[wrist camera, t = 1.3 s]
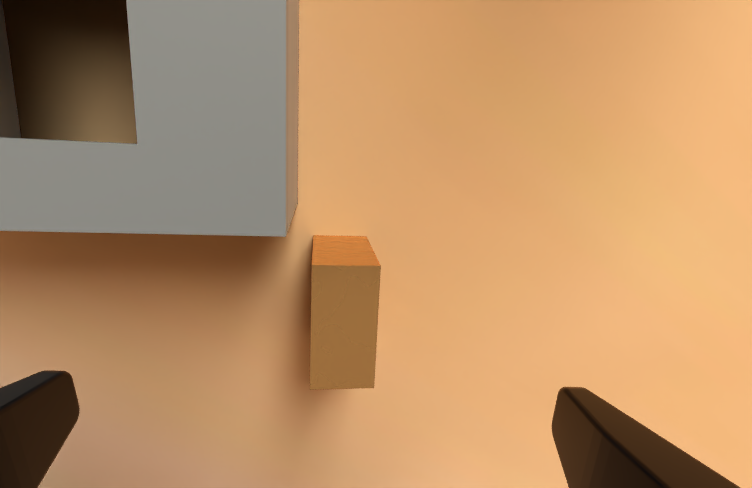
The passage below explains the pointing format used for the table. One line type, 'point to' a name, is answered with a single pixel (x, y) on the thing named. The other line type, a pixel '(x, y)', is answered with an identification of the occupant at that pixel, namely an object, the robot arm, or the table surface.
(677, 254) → the table surface
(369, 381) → the block
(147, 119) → the box
